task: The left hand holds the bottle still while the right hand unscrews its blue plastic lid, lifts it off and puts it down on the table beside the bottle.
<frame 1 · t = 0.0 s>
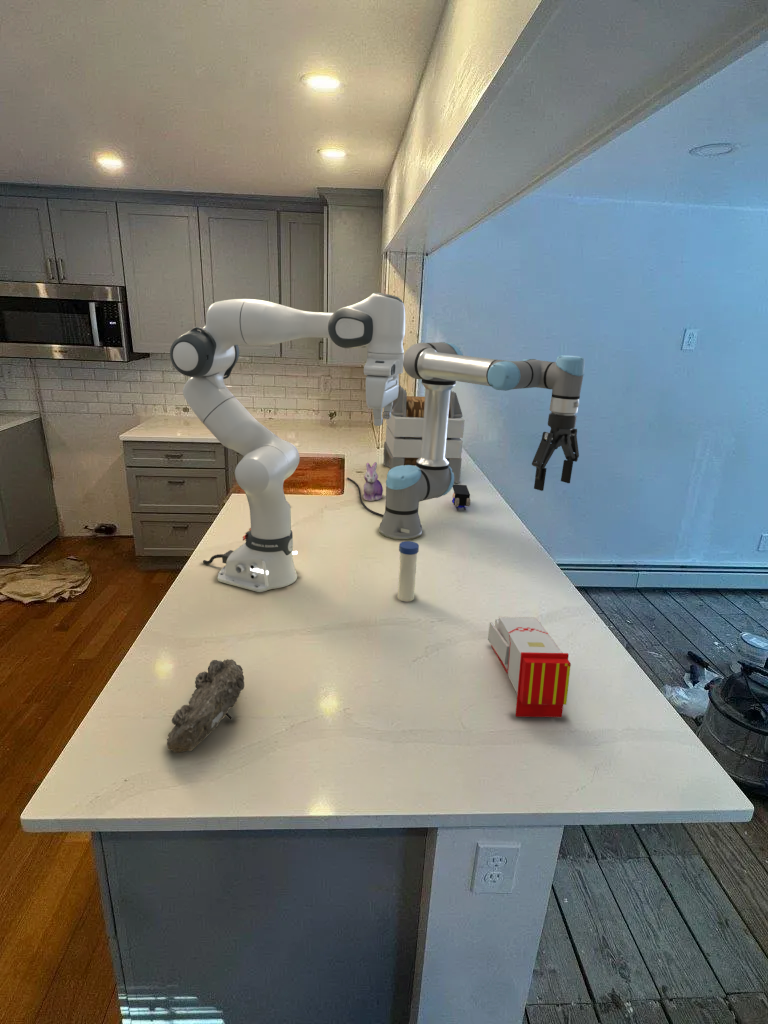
left hand: (382, 421, 142), 48 cm above the counter, tool pointing down, fingers open, 8 cm apart
right hand: (552, 485, 166), 28 cm above the counter, tool pointing down, fingers open, 13 cm apart
fossil: (212, 717, 108), on the counter
bottle: (405, 597, 156), on the counter
figurine: (372, 498, 236), on the counter
toy: (520, 675, 125), on the counter
figurine character: (459, 506, 231), on the counter
lid: (409, 546, 151), point 15 cm above the counter, screwed on, not yet turned
grey slatted crate: (419, 473, 275), on the counter
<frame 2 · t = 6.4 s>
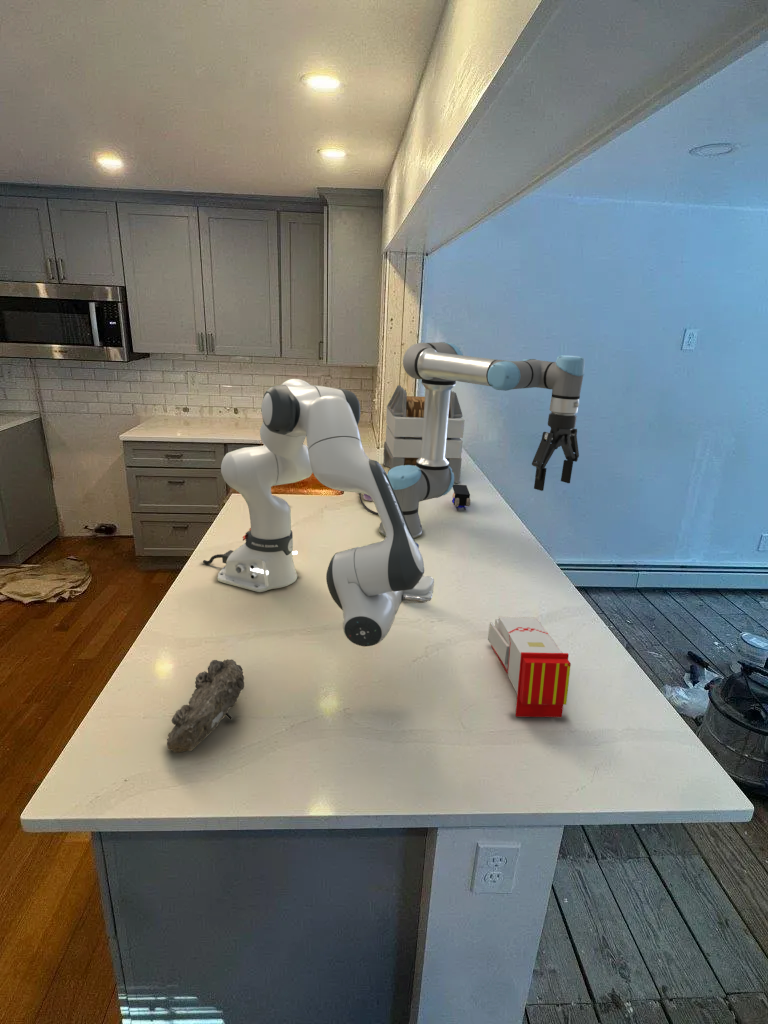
left hand: (393, 570, 131), 18 cm above the counter, tool horizontal, fingers open, 8 cm apart
right hand: (552, 485, 166), 28 cm above the counter, tool pointing down, fingers open, 13 cm apart
nothing on the counter moved.
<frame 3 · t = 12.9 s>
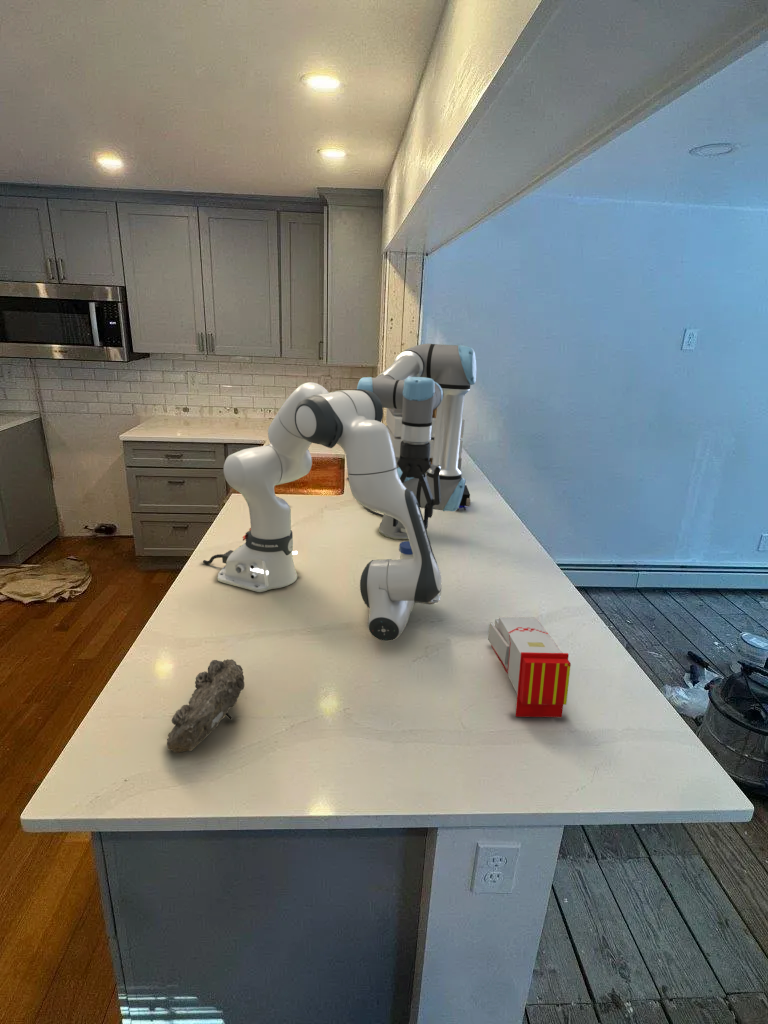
left hand: (407, 574, 155), 7 cm above the counter, tool horizontal, fingers closed on bottle, 4 cm apart
right hand: (410, 526, 149), 21 cm above the counter, tool pointing down, fingers open, 7 cm apart
bottle: (405, 597, 156), on the counter, touching left hand
everything else where it was.
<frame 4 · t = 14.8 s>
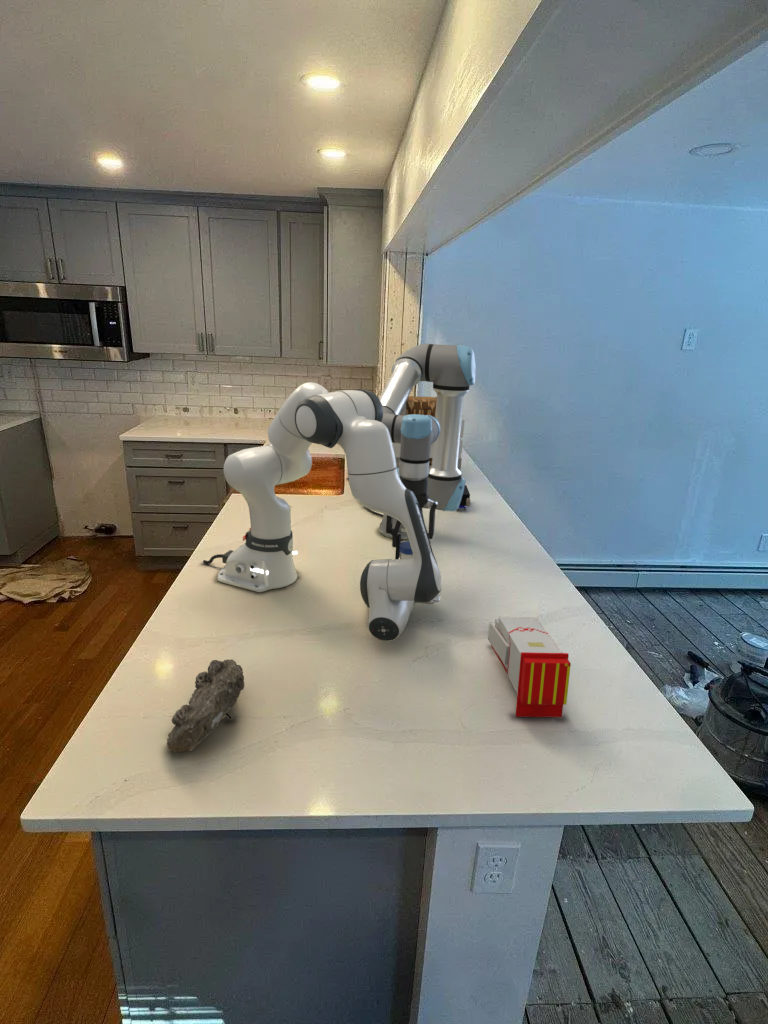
left hand: (407, 574, 155), 7 cm above the counter, tool horizontal, fingers closed on bottle, 4 cm apart
right hand: (408, 559, 152), 11 cm above the counter, tool pointing down, fingers closed on lid, 5 cm apart
bottle: (405, 597, 156), on the counter, touching left hand
lid: (409, 546, 151), point 15 cm above the counter, screwed on, not yet turned, touching right hand
everything else where it was.
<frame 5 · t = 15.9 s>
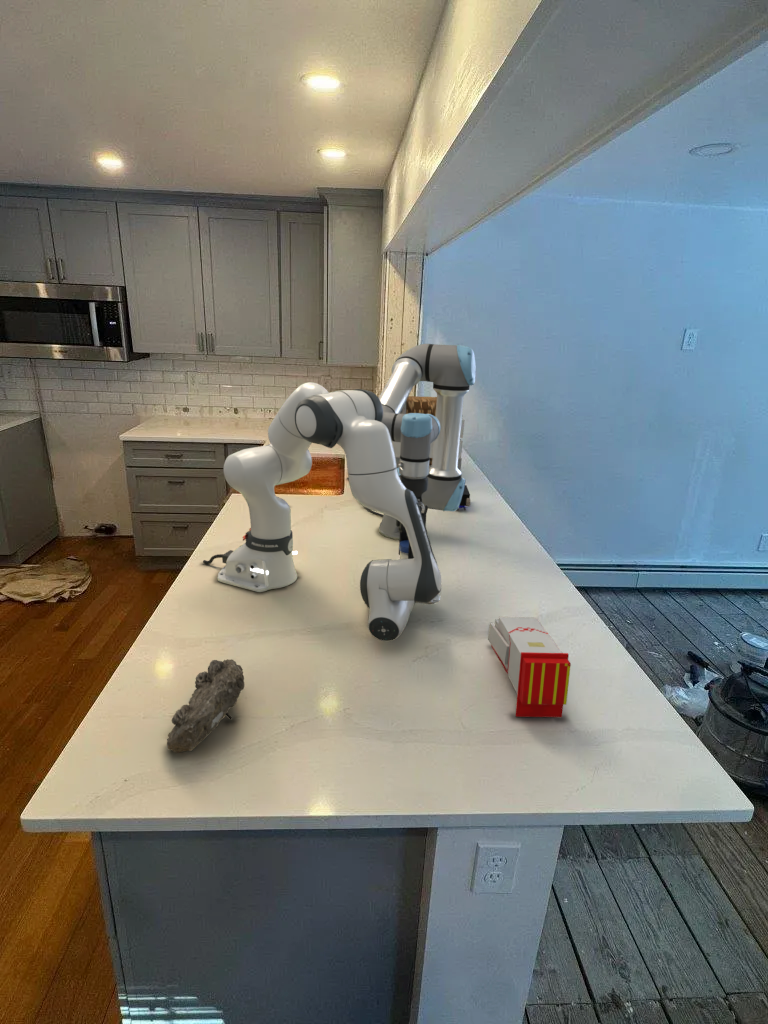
left hand: (407, 574, 155), 7 cm above the counter, tool horizontal, fingers closed on bottle, 4 cm apart
right hand: (408, 558, 152), 12 cm above the counter, tool pointing down, fingers closed on lid, 5 cm apart
bottle: (405, 597, 156), on the counter, touching left hand
lid: (409, 545, 151), point 16 cm above the counter, off its thread, touching right hand
everything else where it was.
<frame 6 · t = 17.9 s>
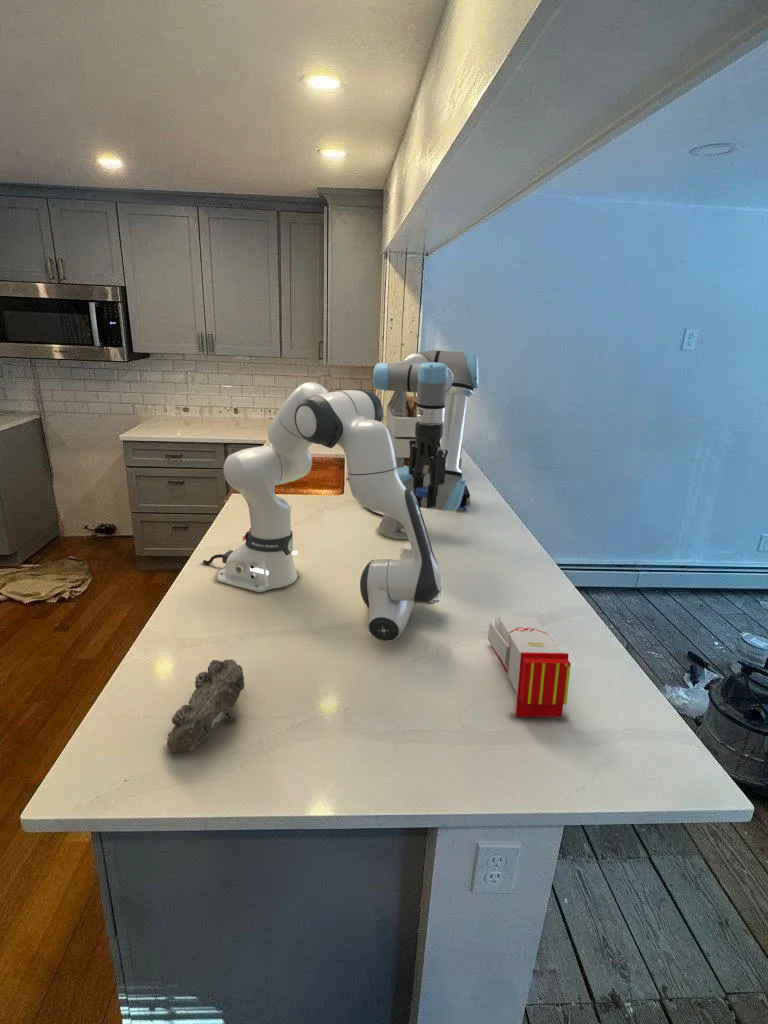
left hand: (407, 574, 155), 7 cm above the counter, tool horizontal, fingers closed on bottle, 4 cm apart
right hand: (424, 503, 160), 23 cm above the counter, tool pointing down, fingers closed on lid, 5 cm apart
bottle: (405, 597, 156), on the counter, touching left hand
lid: (425, 490, 159), point 27 cm above the counter, off its thread, touching right hand
everything else where it was.
when the right hand's fingers open (0 cm above the counter, at t = 22.2 s): lid drops 3 cm, point 1 cm above the counter.
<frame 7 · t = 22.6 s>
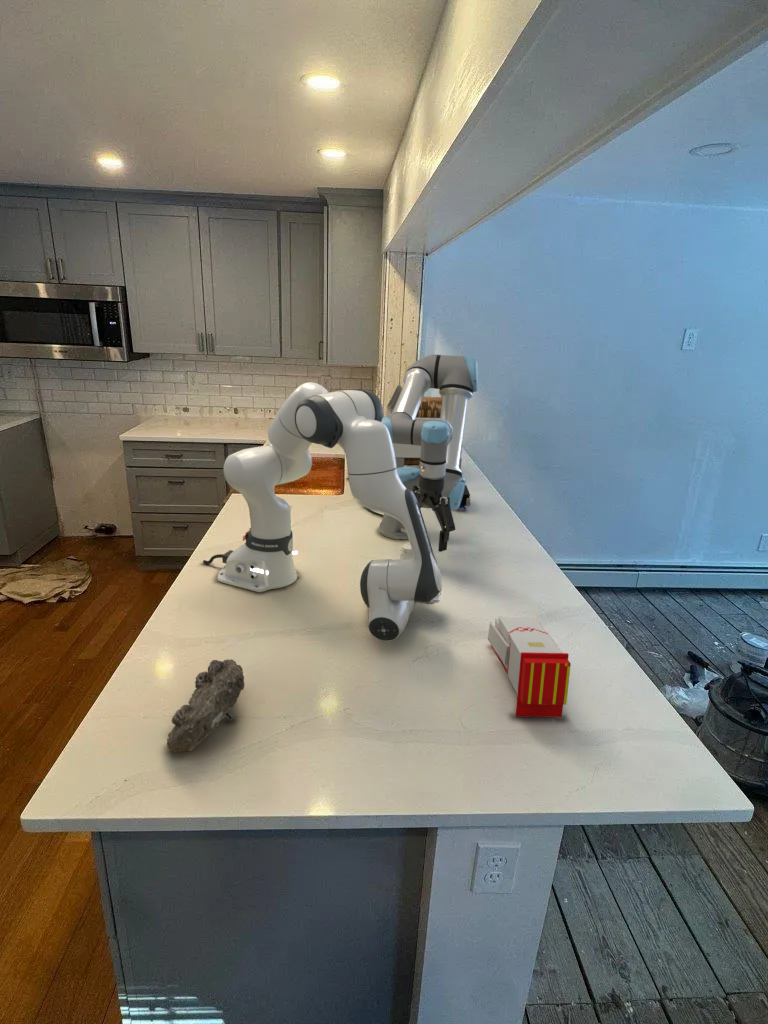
left hand: (407, 574, 155), 7 cm above the counter, tool horizontal, fingers closed on bottle, 4 cm apart
right hand: (427, 542, 172), 8 cm above the counter, tool pointing down, fingers open, 13 cm apart
bottle: (405, 597, 156), on the counter, touching left hand
lid: (425, 565, 173), point 1 cm above the counter, off its thread
everything else where it was.
when the left hand's fingers open (7 cm above the counter, at t = 22.8 s): bottle stays where it is, on the counter.
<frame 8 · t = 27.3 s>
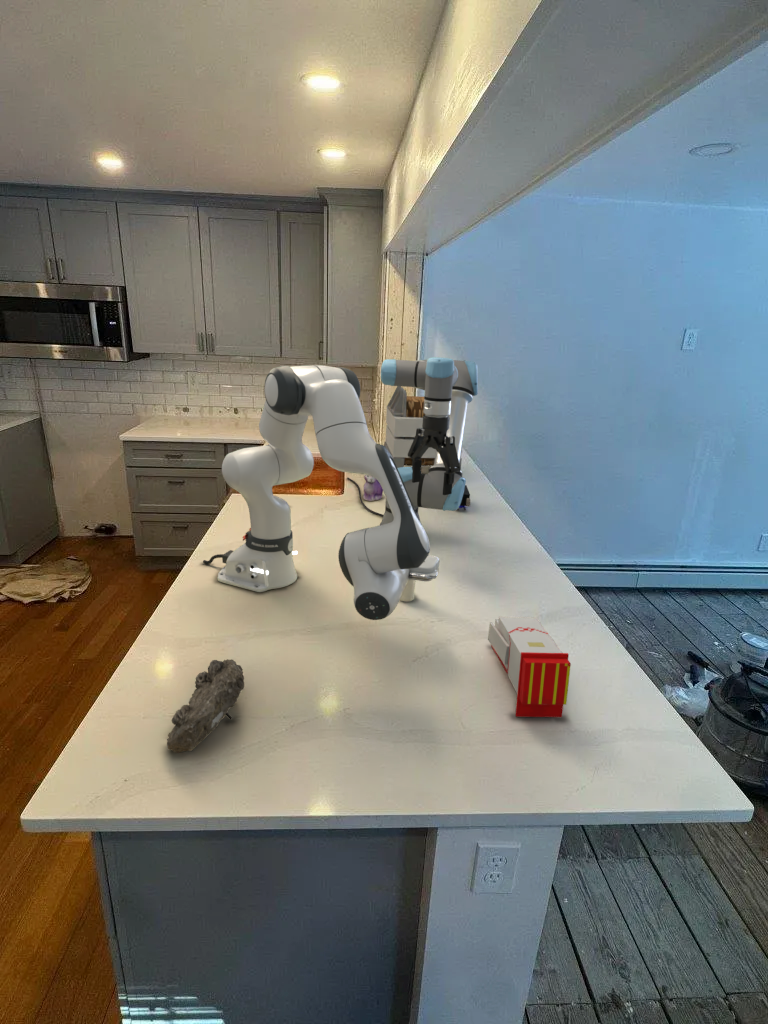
left hand: (401, 549, 139), 19 cm above the counter, tool horizontal, fingers open, 8 cm apart
right hand: (431, 488, 165), 26 cm above the counter, tool pointing down, fingers open, 13 cm apart
bottle: (405, 597, 156), on the counter
everything else where it was.
at the end: lid came off its thread; lid point 1.3 cm above the counter; the left hand is holding nothing; the right hand is holding nothing; bottle tilted 0°; bottle moved 0.0 cm from its start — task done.
